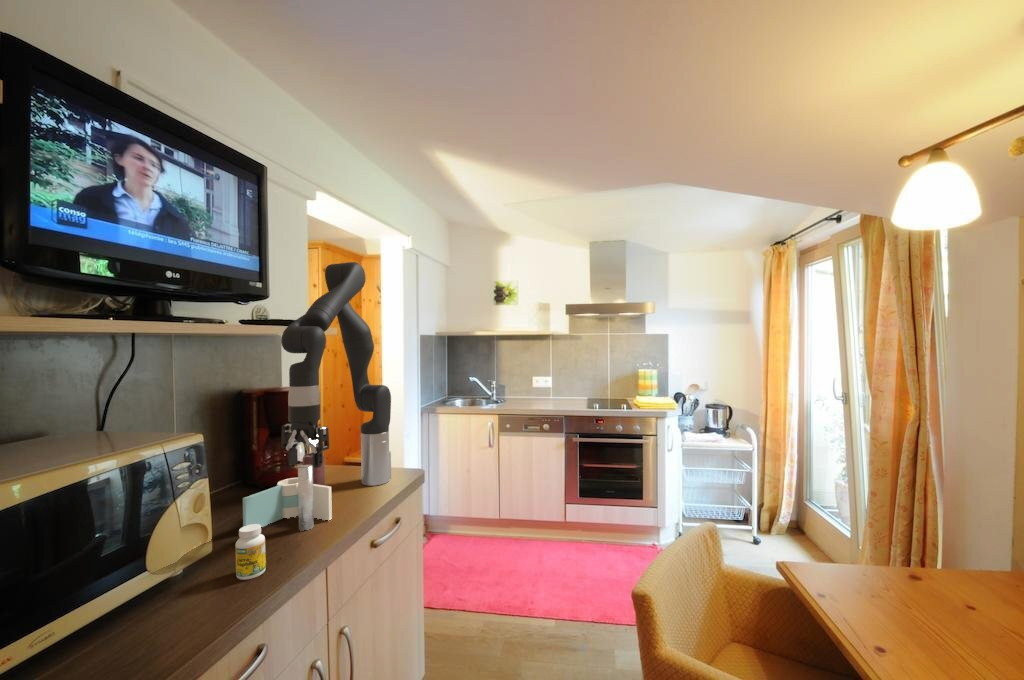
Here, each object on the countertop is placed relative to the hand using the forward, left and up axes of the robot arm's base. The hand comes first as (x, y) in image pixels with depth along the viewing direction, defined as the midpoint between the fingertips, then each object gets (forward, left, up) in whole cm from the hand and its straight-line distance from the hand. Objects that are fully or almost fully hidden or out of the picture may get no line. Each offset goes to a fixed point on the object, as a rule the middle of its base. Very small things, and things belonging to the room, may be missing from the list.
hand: (304, 465), depth 115 cm
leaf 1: (-1, -12, -16) cm, 20 cm away
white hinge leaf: (-6, -7, -16) cm, 19 cm away
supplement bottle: (+21, +8, -17) cm, 28 cm away
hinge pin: (0, 0, -16) cm, 16 cm away
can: (-16, -14, -16) cm, 27 cm away
